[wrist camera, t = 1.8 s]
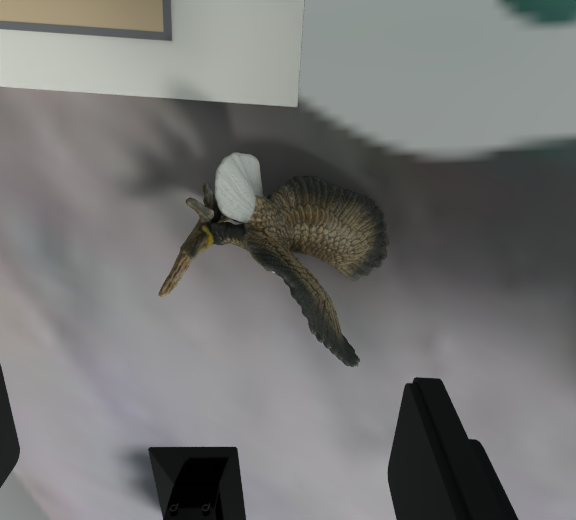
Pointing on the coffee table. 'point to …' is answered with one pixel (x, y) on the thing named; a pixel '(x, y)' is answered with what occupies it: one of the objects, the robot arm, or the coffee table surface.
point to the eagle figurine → (289, 236)
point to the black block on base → (198, 483)
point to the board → (155, 48)
